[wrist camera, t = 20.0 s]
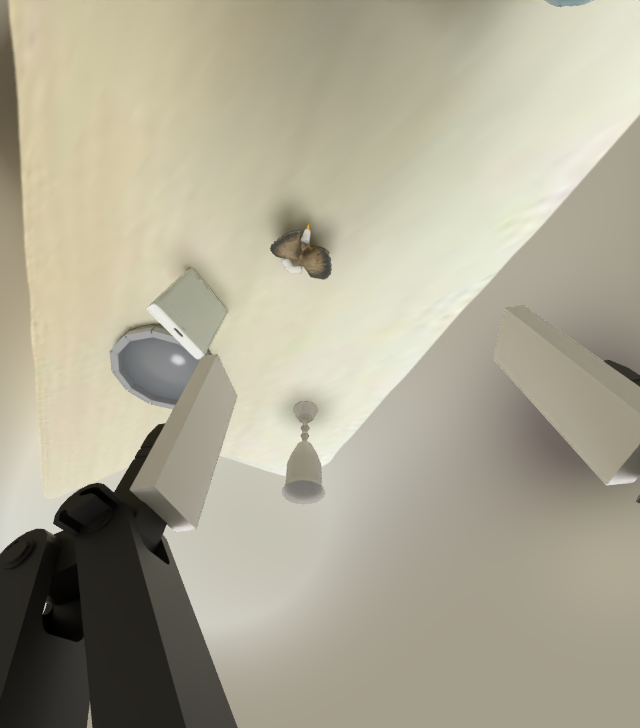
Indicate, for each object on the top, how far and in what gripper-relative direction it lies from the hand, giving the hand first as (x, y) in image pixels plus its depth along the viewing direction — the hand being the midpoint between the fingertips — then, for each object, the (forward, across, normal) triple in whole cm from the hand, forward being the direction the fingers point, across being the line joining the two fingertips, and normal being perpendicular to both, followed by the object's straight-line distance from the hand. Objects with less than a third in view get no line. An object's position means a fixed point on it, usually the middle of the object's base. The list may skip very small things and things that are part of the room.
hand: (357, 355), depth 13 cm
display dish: (+31, -32, -18) cm, 48 cm away
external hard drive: (+31, -20, -6) cm, 37 cm away
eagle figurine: (+31, -4, -2) cm, 31 cm away
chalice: (+31, -10, -34) cm, 47 cm away
